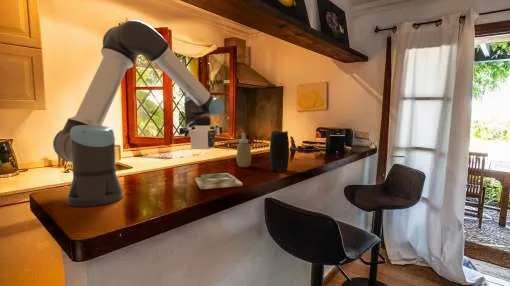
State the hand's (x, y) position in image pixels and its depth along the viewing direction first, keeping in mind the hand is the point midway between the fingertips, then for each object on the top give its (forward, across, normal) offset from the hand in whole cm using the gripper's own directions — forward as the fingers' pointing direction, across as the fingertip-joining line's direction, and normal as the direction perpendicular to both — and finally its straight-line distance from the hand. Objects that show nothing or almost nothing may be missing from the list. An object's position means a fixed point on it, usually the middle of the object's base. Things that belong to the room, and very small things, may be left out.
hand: (204, 131), depth 102 cm
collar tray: (-5, -5, -21) cm, 22 cm away
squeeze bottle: (-37, -27, -21) cm, 50 cm away
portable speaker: (-20, -40, -21) cm, 49 cm away
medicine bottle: (-4, 0, -7) cm, 8 cm away
